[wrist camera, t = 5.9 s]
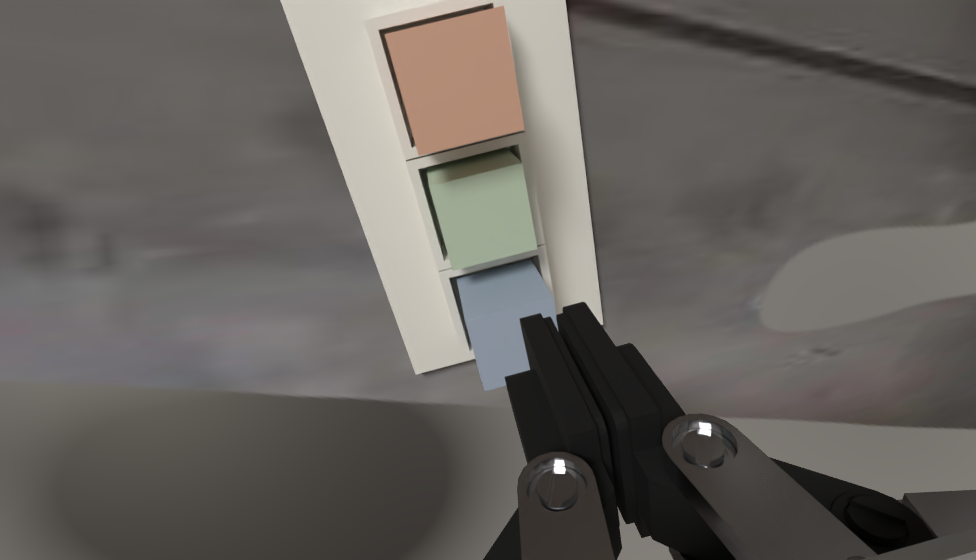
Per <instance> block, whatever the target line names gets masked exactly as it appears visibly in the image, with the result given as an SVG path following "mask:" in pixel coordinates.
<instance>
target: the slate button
mask: <svg viewBox="0 0 976 560" xmlns="http://www.w3.org/2000/svg"><path fill="white" fill-rule="evenodd" d="M457 284H458V289H459V294H460V299H461V304H462V309H463V314H464V319H465V323H466V327H467V330H468V334H469V337H470V341H471V345H472V348H473V352H474V355H475V359H476V362H477V366H478V369H479V373H480V377H481V380H482V384H483V387H484V391H488V390H491V389H495V388H499V387H503V386H506V382H505V377H506V376H509V375H513V374H517V373H520V372H524V371H528V370H530V367H529V362H528V357H527V353H526V348H525V344H524V339H523V335H522V330H521V325H520V318H523V317H527V316H531V315H535V314H538V313H541V314H542V316H543V318H546V317H549V316H550V317H551V318H552V320H553V322H554V324H555V326H556V328H557V330H558V326H557V320H556V309H555V303H554V298H553V296H552V295H551V293H550V291H549V290H548V288H547V286H546V284H545V283H544V281H543V279H542V277H541V276H540V274H539V272H538V271H537V269H536V267H535V265H534V264H533V262H532V260H531V259H530V260H526V261H522V262H518V263H514V264H511V265H507V266H503V267H499V268H495V269H491V270H488V271H484V272H480V273H476V274H472V275H468V276H465V277H461V278H457Z"/></svg>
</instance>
